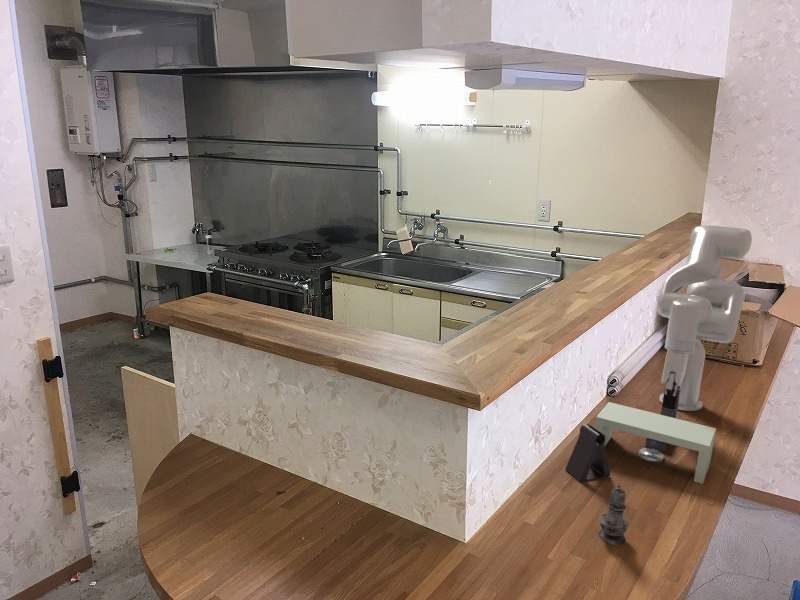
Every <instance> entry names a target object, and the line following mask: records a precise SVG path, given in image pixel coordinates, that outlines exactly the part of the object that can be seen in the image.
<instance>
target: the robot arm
mask: <svg viewBox="0 0 800 600" xmlns="http://www.w3.org/2000/svg"><path fill="white" fill-rule="evenodd" d="M752 239H753V238H752V233H751V231H750V230H749V229H748V228H747V229H746V228H741V227H732V226H731V227H730V226H721V225H708V224H707V225H706V224H705V225H699V226H695V227H694V228H693V229H692V231H691V234H690V239H689V241H690V242H689V243H690V244H689V245H690V246H689V247H690V248H689V250H690V251H689V253H688V257H687V261H686V264H685V265H683V266H682V267H680V268H678V269H676V270H675V271H674V272H672V273H671V274H670V275H668V276H667V278H666V279H665V280H664V282H663V285H662V287H661V288H660V289H661V290H660V292H659V296H658V299H657V303H656V310H657V312H658V315H659V316H661V317H663V318H667V319H668V322H667V323H668V324H667V329H666V335H665V336H666V337H665V342H664V349H666V350H667V351H666V356H665V360H664V365H663V370H662V374H661V380H660V381H661V382H660V383H661V384H663V385H664V384H666V385H665V387H666V390H665V389H664V390H665V394H664V392H663V393H660V394H659V398H658V400H659V402H660V403H661V404H662V403H663V407H664V408H669V409H673V410H674V409H675V404H676V397H677V396H676V391H677V389H679V390H681V393H680V399H679V405H678V410H679V411H683V412H684V411H685V412H696V411H700V410H702V409H703V405H704V404H703V402H702V400H700V399H699V395H700V390H701V383H702V379H703V378H702V377H703V372H704V365H705V360H706V350H705V347H704V345H703V344H702V342H701V340H702V341H703V340H704V341H709V342H715V343H720V344H728V343H731V342H732V341H733V340H734V338H735V336H736V334H737V330H738V325H739V321H740V316H741V312H742V308H743V302H744V297H745V296H744V288H743V286H742V285H741V284H739V283H737V282H733V281H726V280H721V279H722V274H723V269H722V266H721V265H720V259H721V258H724V259H725V258H726V259H733V260H741V259H742V258H744V257H745V256H746V255H747V254H748V253H749V251H750V249H751V246H752V241H753V240H752ZM685 286H687V289H686V293H680V292H675V291H677V289H679V288H682V287H685ZM673 388H674V389H673ZM663 396H664V399H663Z"/></svg>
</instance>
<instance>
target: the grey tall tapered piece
mask: <svg viewBox="0 0 800 600" xmlns="http://www.w3.org/2000/svg"><path fill="white" fill-rule="evenodd" d="M609 495H610V496H609V501H607V503H606V505H607V513H603V514H601V515H600V516H599V518H598V519H599V523H600V527H601V530H600V531H599V532H598V537H599V538H600V539H601V540H602V541H603V542H605V543H607V544H610V545H615V546H617V545H619V546H620V545H622V544H625V542H626V537H625V535H624V534H626V532H627V530H628V529H629V527H630V523H629V521H628V520H627V519H626V518H625V517H624V511H625V510H626V505H625V500H626V496H627V495H626V491H625V490H624V488H623V489H622V488H621V485H620V484H618V485H617V487H613V488H611V490H610V494H609Z"/></svg>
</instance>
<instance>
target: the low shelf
mask: <svg viewBox="0 0 800 600" xmlns="http://www.w3.org/2000/svg"><path fill="white" fill-rule="evenodd" d="M594 428H595V429H597V430H598V431H599V432H601V433H602V434H604V435H605V444H604V445H605V447H606V446H607V444H608V443H609V441H610V440H611V439H612V436H613V429H614V430H617V431H620V432H621V431H622V432H625V433H629V434H631V435H632V434H633V435H636V436H639V437H643V438H650V439H654V440H658V441H662V442H665V443H667V444H670V445H673V446H677V447H681V448H684V449H688V450H693V451H696V452H698V456H697V462H696V466H695V473H694V479H693V482H695V483H699V484H701V485H703V484H704V482H705V478H706V476H707V473H708V470H709V467H710V466H711V460H712V454H713V448H714V444H715V443H714V442H715V437H716V432H717V428H716V427H711V426H707V425H703V424H699V423H695V422H692V421H689V420H688V421H687V420H683V419H680V418H672V417H668V416H664V415H661V413H660V414H659V413H655V412H653V411H652V412H651V411H647V410H643V409H639V408H634V407H631V406H626V405H623V404H618V403H614V402H611V401H608V402H607V403H606V404H605V406H604V407H603V408H602V409H601V411H599V413H598V414H597V415H596V417H595V423H594ZM610 438H611V439H610Z"/></svg>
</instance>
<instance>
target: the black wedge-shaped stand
mask: <svg viewBox="0 0 800 600" xmlns="http://www.w3.org/2000/svg"><path fill="white" fill-rule="evenodd" d="M604 444H605V435H604V434H602V433H601V432H599V431H598V430H597V429H595V426H594V427H593V426H592V425H590V424H589V423H586V424H584V423H583V424H582V425H581V426H580V428H579V436H578V439H577V441H576V442H575V445H574V447H573V449H572V451H571V452H572V453H571V454H570V457H569V459H568V462H567V464H566V466H565V469H564V470H565V471H566V472H567V473H569V474H570V475H571V476H572V477H574V478H575V479H576V480H577V481H578V482H580V483H585V482H589V481H595V480H599V479H605V478H604V477H607V478H609V477H608V476H610V477H611V470H610V466H609V460H608V455H607V451H606V446H605V445H604Z"/></svg>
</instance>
